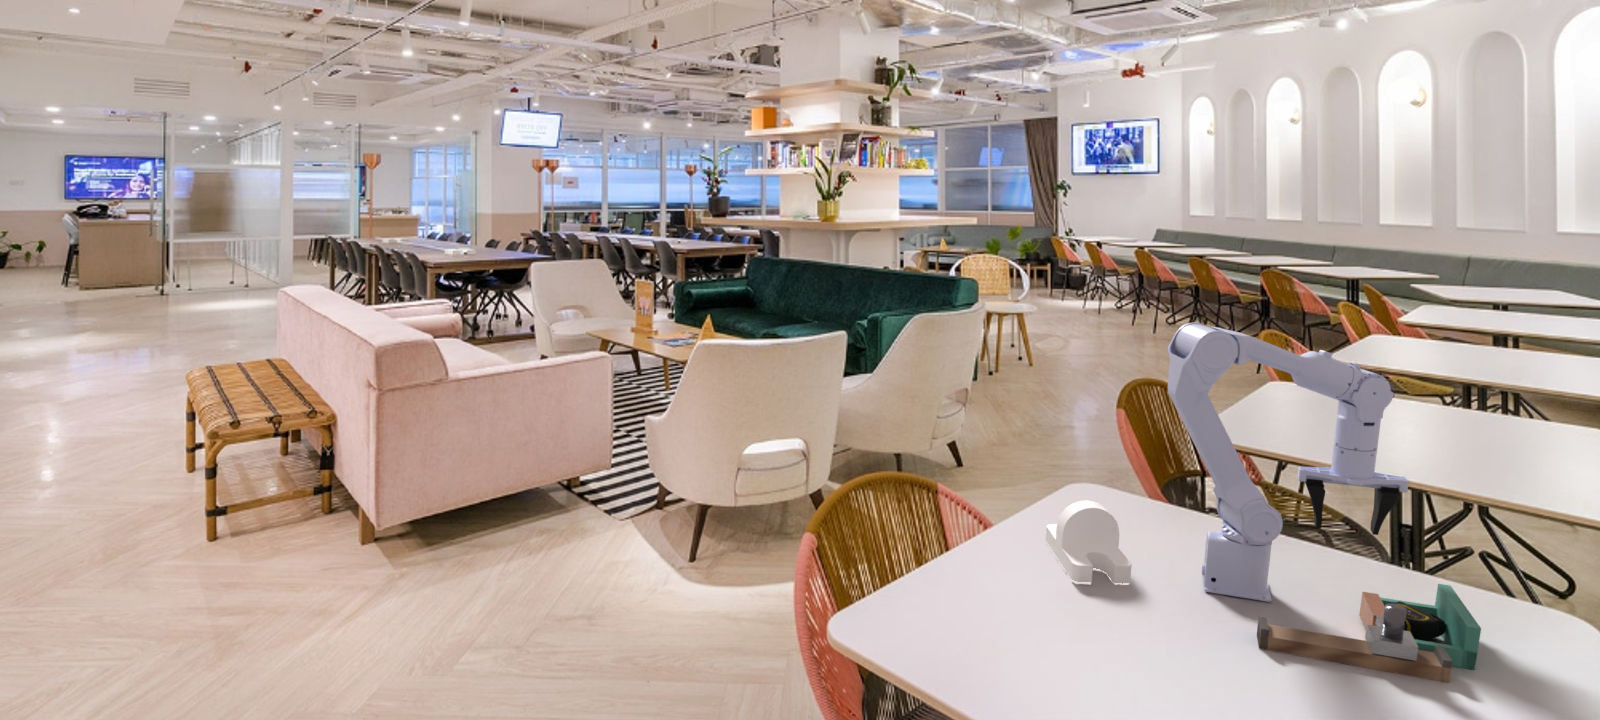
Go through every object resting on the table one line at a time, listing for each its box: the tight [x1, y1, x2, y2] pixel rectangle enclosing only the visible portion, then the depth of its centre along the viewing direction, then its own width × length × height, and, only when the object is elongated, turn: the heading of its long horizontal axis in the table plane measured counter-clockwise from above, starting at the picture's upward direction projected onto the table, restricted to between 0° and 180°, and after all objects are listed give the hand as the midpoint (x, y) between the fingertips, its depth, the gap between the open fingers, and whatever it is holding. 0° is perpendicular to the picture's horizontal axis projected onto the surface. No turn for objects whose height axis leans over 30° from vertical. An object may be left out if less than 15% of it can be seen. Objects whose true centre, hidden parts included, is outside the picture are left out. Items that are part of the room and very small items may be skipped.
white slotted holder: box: [1045, 499, 1133, 584], centre depth 149 cm, size 10×18×11 cm, turn 179°
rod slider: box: [1358, 591, 1418, 661], centre depth 121 cm, size 5×16×8 cm, turn 157°
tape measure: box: [1391, 601, 1446, 642], centre depth 125 cm, size 7×7×4 cm
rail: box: [1256, 615, 1453, 683], centre depth 118 cm, size 22×4×3 cm, turn 67°
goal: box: [1379, 583, 1482, 671], centre depth 123 cm, size 10×14×6 cm
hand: (1345, 529), depth 137 cm, fingers open, 7 cm apart
